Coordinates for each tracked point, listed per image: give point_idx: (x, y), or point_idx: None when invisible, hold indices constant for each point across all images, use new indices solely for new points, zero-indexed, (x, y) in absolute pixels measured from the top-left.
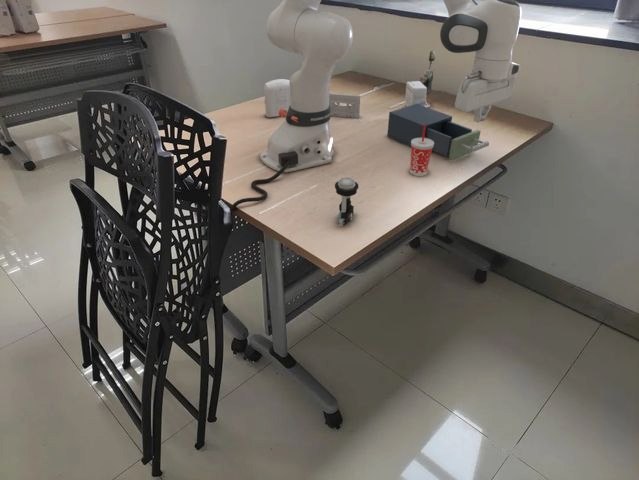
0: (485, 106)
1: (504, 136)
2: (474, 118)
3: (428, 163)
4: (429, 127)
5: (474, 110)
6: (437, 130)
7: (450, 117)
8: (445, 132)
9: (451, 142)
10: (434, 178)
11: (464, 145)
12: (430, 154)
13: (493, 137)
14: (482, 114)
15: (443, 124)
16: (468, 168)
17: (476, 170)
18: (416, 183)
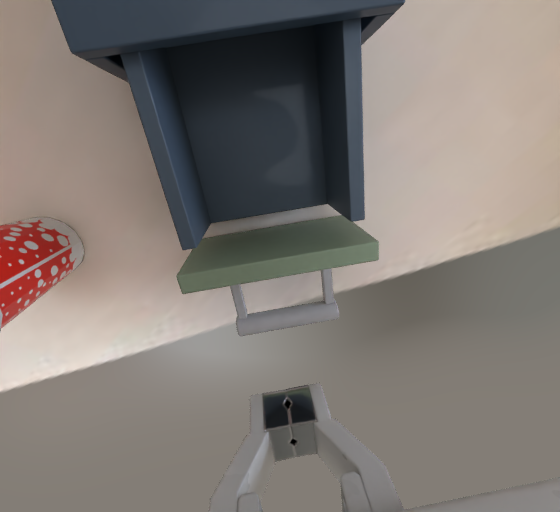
0: (344, 508)
1: (556, 161)
2: (250, 410)
3: (45, 292)
4: None
5: (218, 496)
6: None
7: (380, 9)
8: (321, 52)
9: (295, 139)
10: (91, 299)
11: (233, 293)
12: (15, 316)
13: (519, 145)
14: (305, 444)
15: None
16: None
17: (250, 312)
18: None
